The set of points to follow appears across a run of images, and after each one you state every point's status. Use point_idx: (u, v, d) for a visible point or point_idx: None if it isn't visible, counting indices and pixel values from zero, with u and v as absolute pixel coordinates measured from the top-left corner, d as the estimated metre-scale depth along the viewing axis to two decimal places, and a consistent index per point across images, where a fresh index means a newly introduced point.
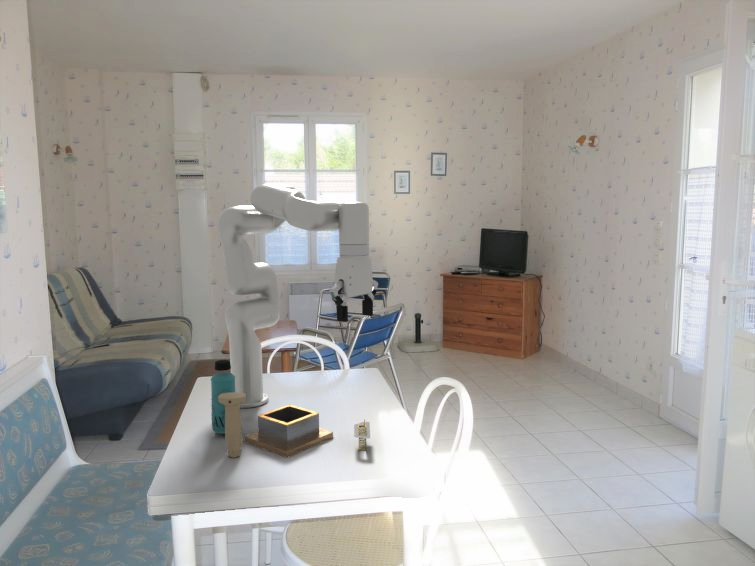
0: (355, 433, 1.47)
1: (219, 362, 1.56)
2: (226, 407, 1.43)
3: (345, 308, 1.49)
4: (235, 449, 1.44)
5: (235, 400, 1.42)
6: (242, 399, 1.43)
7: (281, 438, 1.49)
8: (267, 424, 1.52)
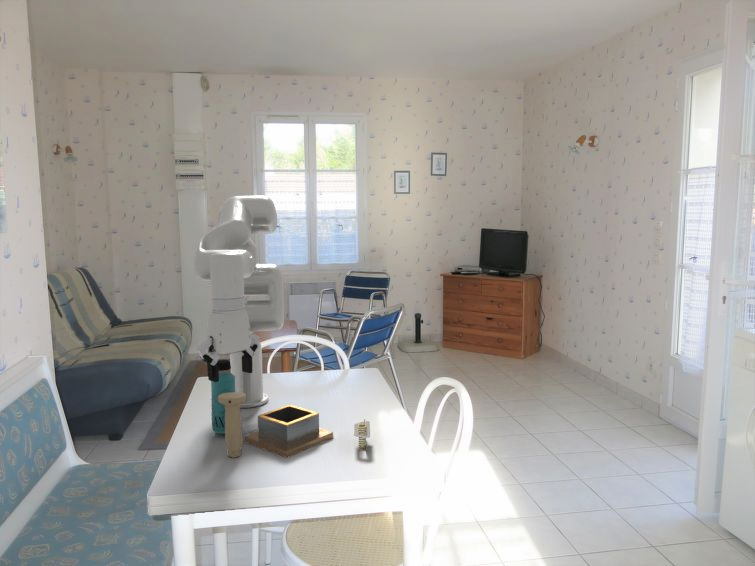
0: (355, 432, 1.48)
1: (219, 362, 1.56)
2: (226, 407, 1.43)
3: (215, 368, 1.38)
4: (235, 449, 1.44)
5: (235, 400, 1.42)
6: (242, 399, 1.43)
7: (281, 438, 1.49)
8: (267, 424, 1.52)
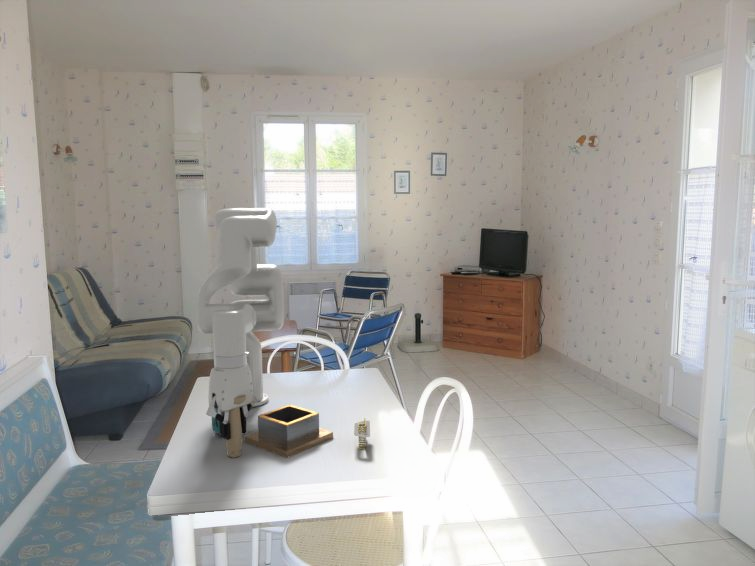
0: (355, 432, 1.48)
1: None
2: None
3: (227, 426, 1.42)
4: (235, 449, 1.44)
5: (235, 400, 1.42)
6: (242, 399, 1.43)
7: (281, 438, 1.49)
8: (267, 424, 1.52)
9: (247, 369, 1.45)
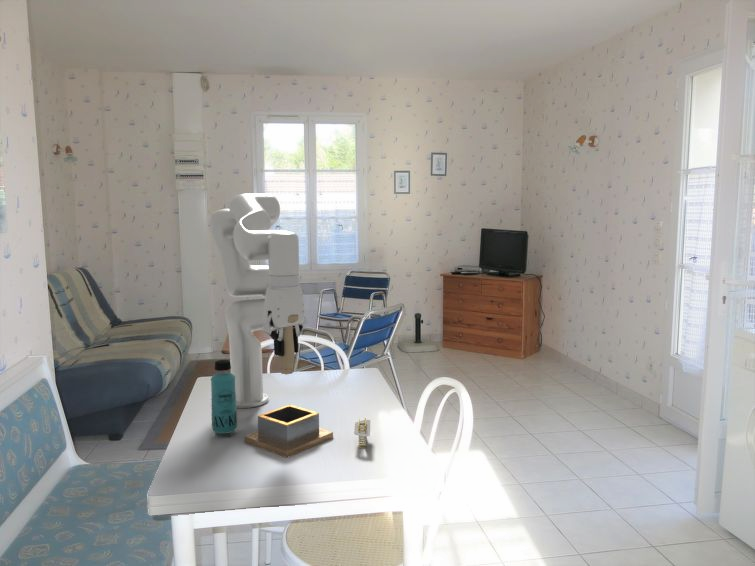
0: (355, 431, 1.49)
1: (219, 362, 1.56)
2: None
3: (282, 343, 1.50)
4: (288, 366, 1.52)
5: (289, 319, 1.49)
6: (295, 317, 1.50)
7: (281, 438, 1.49)
8: (267, 424, 1.52)
9: (300, 290, 1.52)
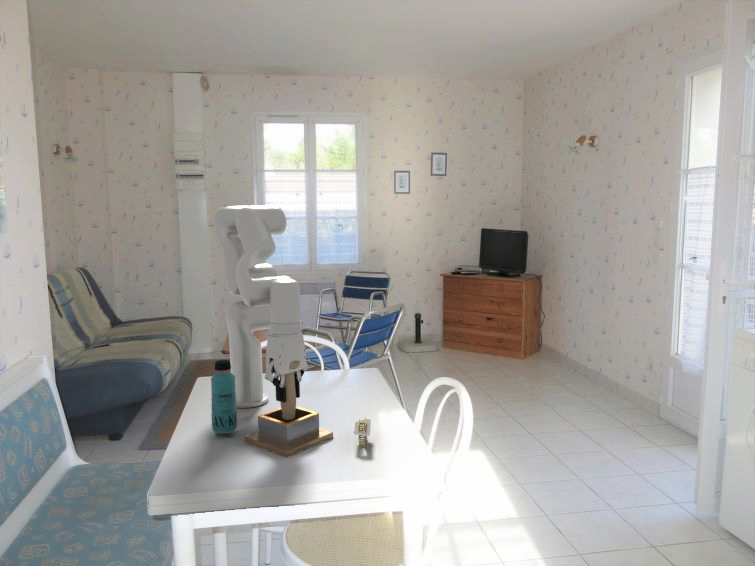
0: (355, 430, 1.49)
1: (219, 362, 1.56)
2: None
3: (283, 390, 1.51)
4: (290, 412, 1.53)
5: (290, 365, 1.51)
6: (297, 364, 1.52)
7: (281, 438, 1.49)
8: (267, 424, 1.52)
9: (301, 336, 1.53)
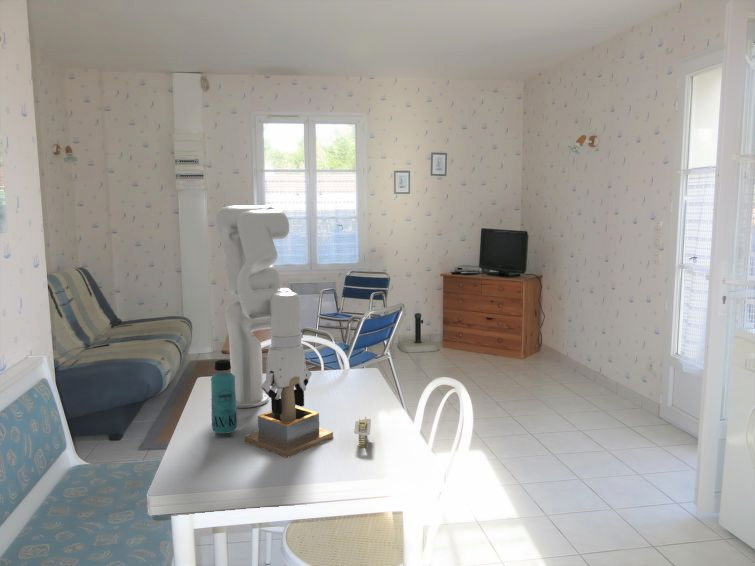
0: (355, 430, 1.50)
1: (219, 362, 1.56)
2: None
3: (279, 402, 1.50)
4: None
5: (290, 382, 1.52)
6: (297, 380, 1.52)
7: (281, 438, 1.49)
8: (267, 424, 1.52)
9: (301, 349, 1.54)
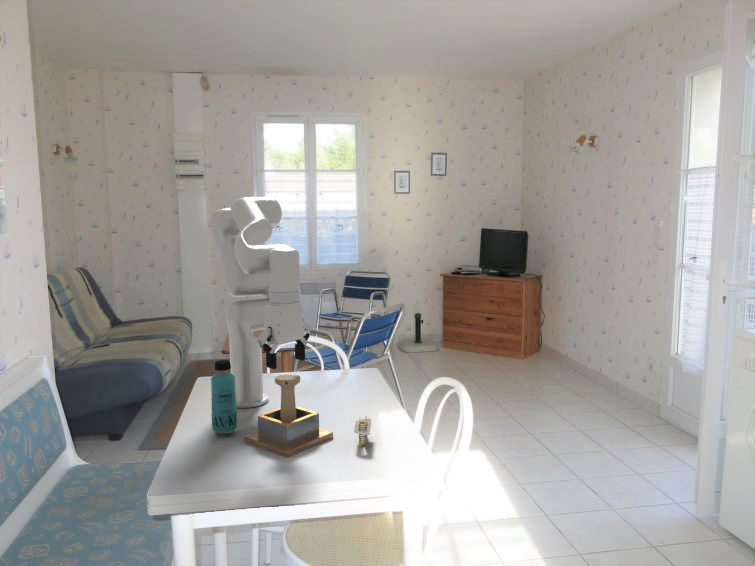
0: (355, 429, 1.50)
1: (219, 362, 1.56)
2: (282, 388, 1.53)
3: (274, 356, 1.48)
4: None
5: (291, 382, 1.52)
6: (297, 380, 1.52)
7: (281, 438, 1.49)
8: (267, 424, 1.52)
9: (300, 306, 1.53)
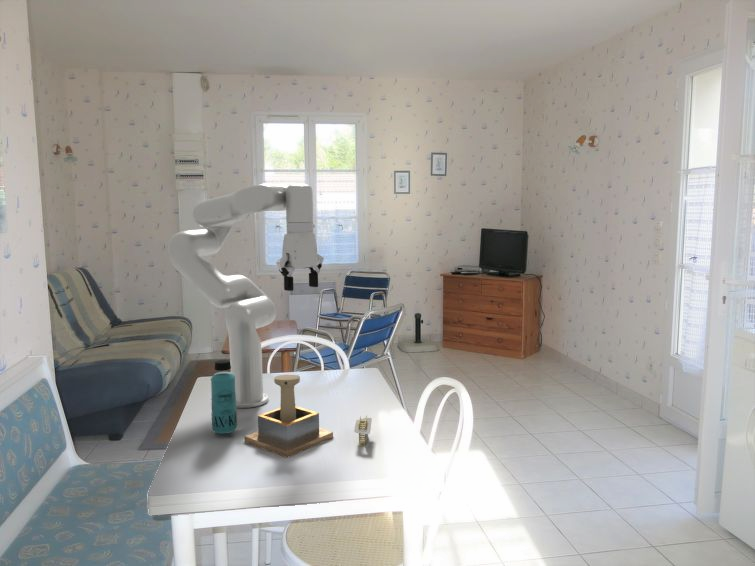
0: (355, 428, 1.50)
1: (219, 362, 1.56)
2: (282, 388, 1.53)
3: (291, 279, 1.68)
4: None
5: (290, 382, 1.52)
6: (297, 380, 1.52)
7: (281, 438, 1.49)
8: (267, 424, 1.52)
9: (313, 236, 1.72)
